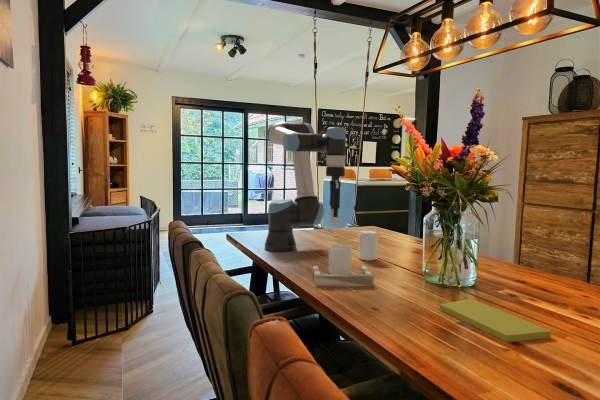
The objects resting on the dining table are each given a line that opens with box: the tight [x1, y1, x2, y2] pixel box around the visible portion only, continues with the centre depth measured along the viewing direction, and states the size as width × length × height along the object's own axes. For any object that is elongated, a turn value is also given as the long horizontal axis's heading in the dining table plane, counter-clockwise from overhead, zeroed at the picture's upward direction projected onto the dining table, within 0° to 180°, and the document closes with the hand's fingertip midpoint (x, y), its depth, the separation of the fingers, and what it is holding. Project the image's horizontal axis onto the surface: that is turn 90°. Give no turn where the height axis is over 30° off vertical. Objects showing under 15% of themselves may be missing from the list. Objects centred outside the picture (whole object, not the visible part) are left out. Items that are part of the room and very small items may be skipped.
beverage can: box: [357, 229, 379, 262], centre depth 167 cm, size 8×8×12 cm
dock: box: [312, 265, 375, 287], centre depth 137 cm, size 13×20×4 cm, turn 92°
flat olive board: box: [439, 298, 552, 343], centre depth 102 cm, size 12×2×24 cm
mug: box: [328, 243, 352, 274], centre depth 147 cm, size 12×8×10 cm
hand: (334, 223), depth 158 cm, fingers open, 4 cm apart
